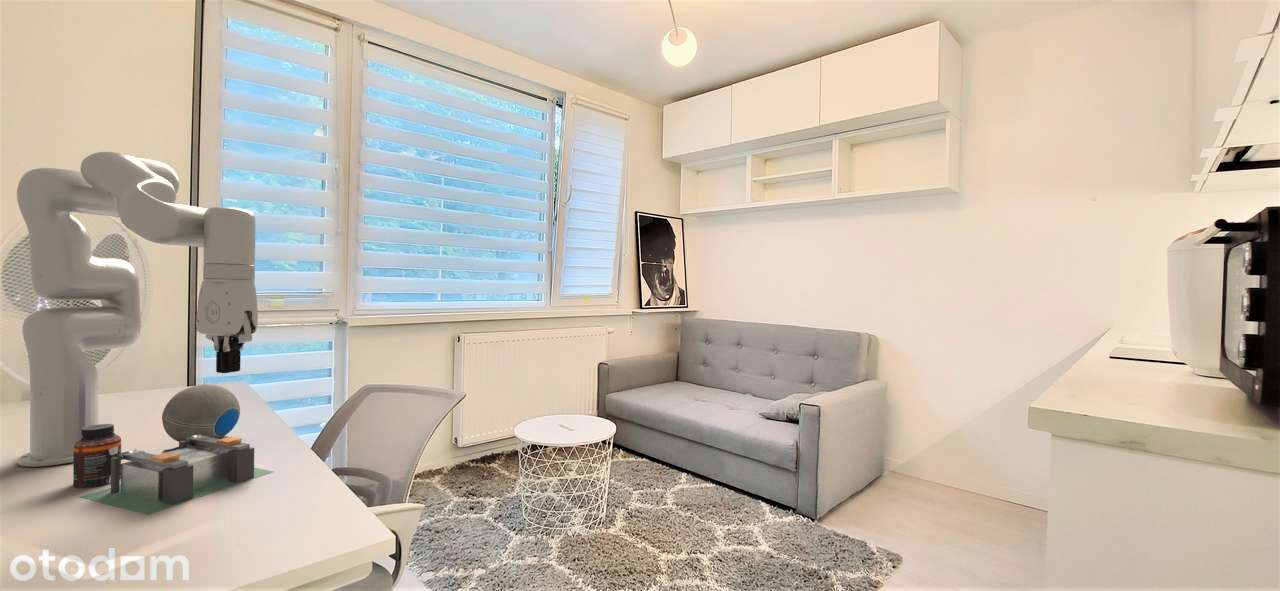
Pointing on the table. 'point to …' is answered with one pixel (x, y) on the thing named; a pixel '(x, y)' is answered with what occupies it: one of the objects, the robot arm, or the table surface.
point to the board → (155, 504)
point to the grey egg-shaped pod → (200, 413)
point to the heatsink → (149, 478)
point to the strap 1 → (154, 459)
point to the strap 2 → (219, 442)
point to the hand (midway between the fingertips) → (228, 371)
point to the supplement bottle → (95, 456)
